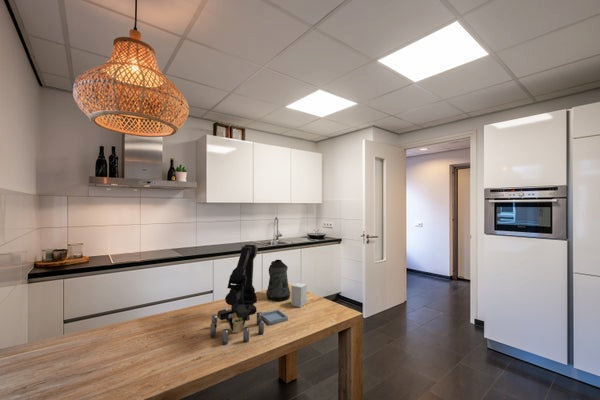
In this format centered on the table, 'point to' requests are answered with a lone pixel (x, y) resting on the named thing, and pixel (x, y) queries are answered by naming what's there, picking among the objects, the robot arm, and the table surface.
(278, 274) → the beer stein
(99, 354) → the table surface
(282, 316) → the tray
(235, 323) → the brass nut
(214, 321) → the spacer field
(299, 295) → the supplement box
